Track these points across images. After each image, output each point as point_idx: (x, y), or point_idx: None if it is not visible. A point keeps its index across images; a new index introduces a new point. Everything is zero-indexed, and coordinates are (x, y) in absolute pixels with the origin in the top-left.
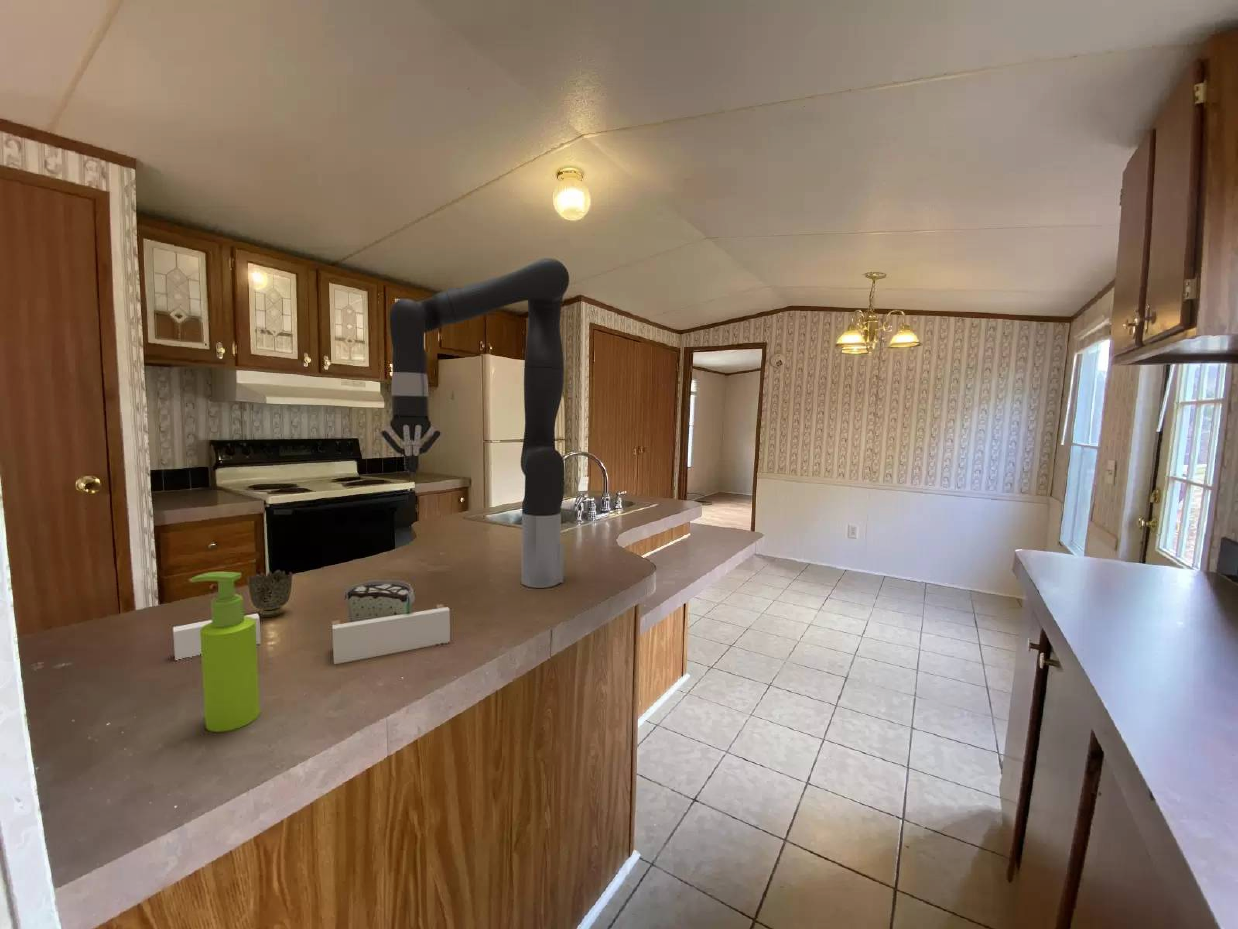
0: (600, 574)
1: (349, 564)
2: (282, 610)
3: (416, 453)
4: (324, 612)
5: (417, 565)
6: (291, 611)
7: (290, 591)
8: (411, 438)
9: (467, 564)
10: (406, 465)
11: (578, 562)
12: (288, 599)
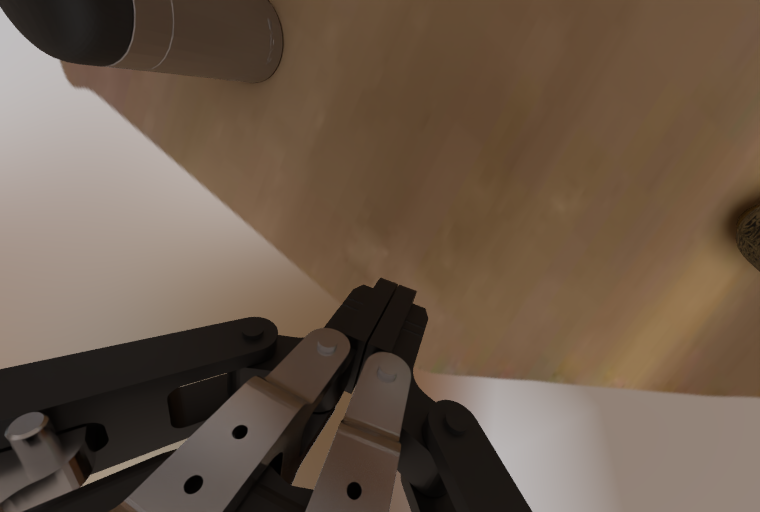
0: None
1: (474, 371)
2: (744, 213)
3: (327, 337)
4: (672, 161)
5: None
6: (715, 213)
7: (758, 218)
8: (285, 498)
9: (318, 235)
10: (415, 325)
11: (154, 105)
12: (752, 211)
